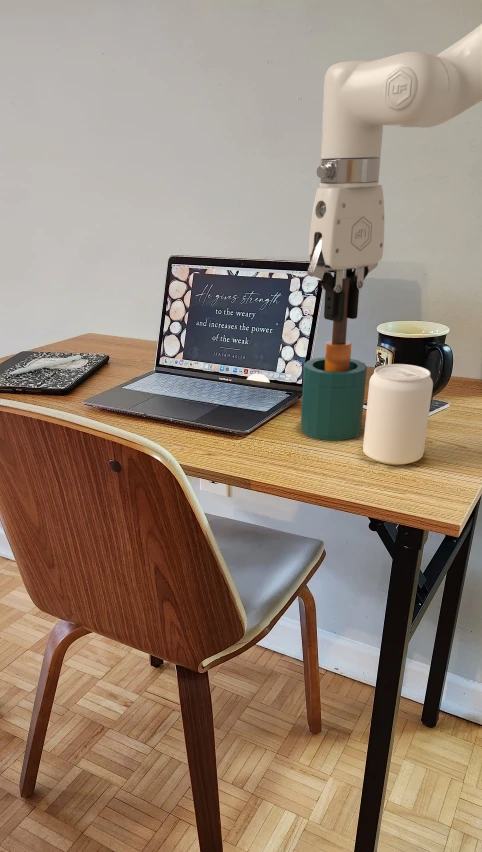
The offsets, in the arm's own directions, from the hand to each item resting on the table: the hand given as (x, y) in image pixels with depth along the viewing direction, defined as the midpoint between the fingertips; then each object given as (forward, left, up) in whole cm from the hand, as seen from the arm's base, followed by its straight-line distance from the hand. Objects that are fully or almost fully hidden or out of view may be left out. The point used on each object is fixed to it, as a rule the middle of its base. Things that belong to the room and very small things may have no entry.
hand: (340, 317), depth 97 cm
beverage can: (-10, +6, -17) cm, 21 cm away
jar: (0, 0, -17) cm, 17 cm away
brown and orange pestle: (0, 0, -8) cm, 8 cm away
